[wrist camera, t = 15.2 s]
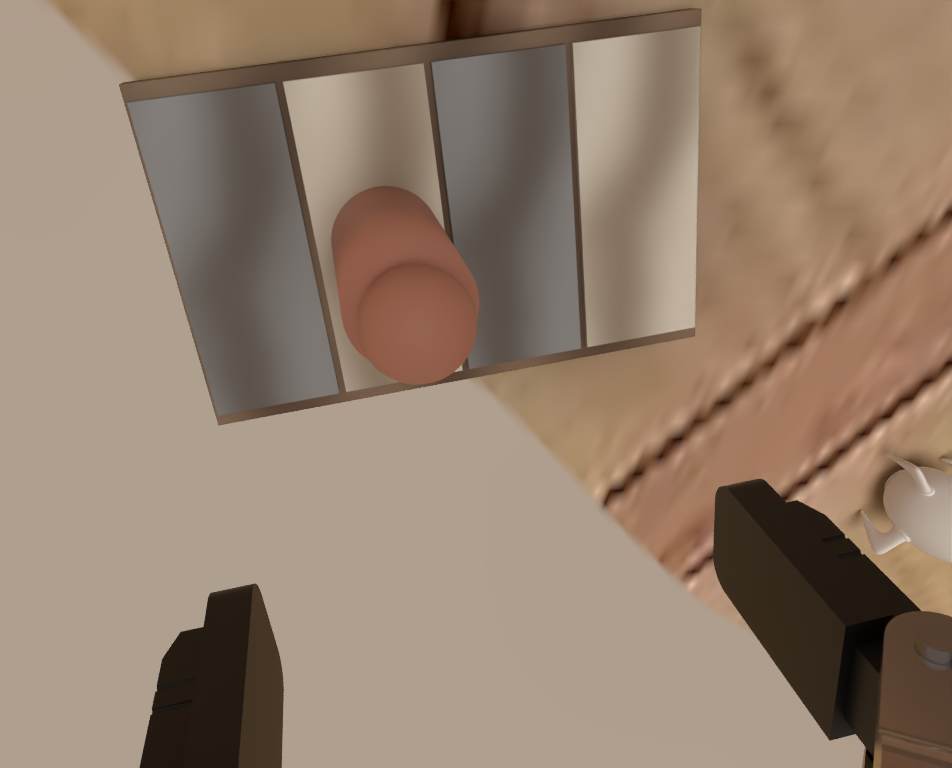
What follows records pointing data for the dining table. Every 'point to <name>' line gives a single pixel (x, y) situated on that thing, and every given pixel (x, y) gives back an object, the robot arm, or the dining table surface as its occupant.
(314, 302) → the board
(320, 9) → the dining table surface
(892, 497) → the rocket toy
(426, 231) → the pawn
